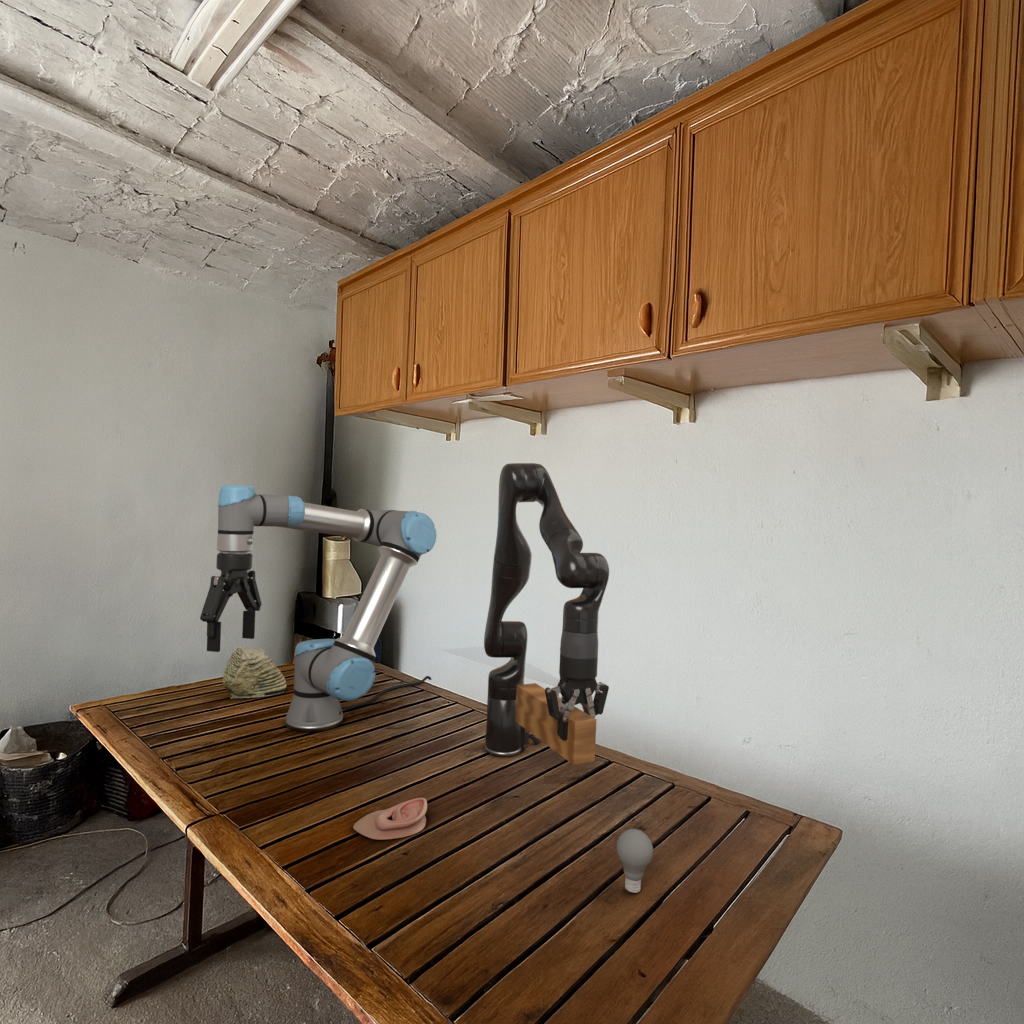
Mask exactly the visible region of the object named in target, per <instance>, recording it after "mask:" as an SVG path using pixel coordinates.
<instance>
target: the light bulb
mask: <svg viewBox="0 0 1024 1024" xmlns="http://www.w3.org/2000/svg"><path fill="white" fill-rule="evenodd" d="M615 849H616V854H617V857H618V859H619V861H620V863H621V865H622V867H623V873H624V874H623V875H624V876H625V878H624V888H625V890H627V891H628V892H630V893H634V894H635V893H639V892H640V891H641V889H642V887H641V886H642V879H643V877H644V875H645V871H646V868H647V867H648V866H649V864H650V863H651V861H652V859H653V855H654V847H653V843H652V841H651V838H649V836H648V835H647V834H646V833H645V832H643V831H642V830H641V829H636V828H629V829H627V830H625V831H623V832H622V833H621V834H620V835H619V837H618V839H617V841H616V847H615Z"/></svg>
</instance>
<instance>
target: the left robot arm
mask: <svg viewBox="0 0 1024 1024" xmlns="http://www.w3.org/2000/svg"><path fill="white" fill-rule="evenodd" d="M217 506H218V507H217V508H218V509H217V512H218V513H217V538H216V551H218V553H217V554H216V563H215V564H216V569H217V570H219V571H220V576H219V575H211V577H210V583H209V584H210V585H209V588H208V592H207V594H206V598H205V601H204V604H203V607H202V610H201V614H200V617H199V620H200V621H202V622H206V652H213V653H220V652H221V637H222V635H221V634H222V621H220V619H221V616H222V614H223V612H224V609H225V608H226V606H227V604H228V602H229V600H230V598H231V597H233V595H234V594H237V596H238V597H239V599H240V601H241V603H242V605H243V607H244V609H245V610H243V611H242V634H241V635H242V636H241V638H242V639H248V640H254V639H255V633H256V632H255V631H256V630H255V628H256V612H260V611H261V607H262V599H261V596H260V592H259V588H258V583H257V580H256V571H255V570H251V569H252V568H253V554H252V553H251V552H252V551H253V549H254V547H253V546H254V545H253V544H254V529H255V528H254V527H274V528H275V527H277V528H284V529H291V530H299V531H305V532H313V533H319V534H326V535H333V536H341V537H348V538H352V540H353V541H354V542H357V543H365V544H368V545H372V546H375V547H378V550H379V553H380V557H379V559H378V561H377V563H376V566H375V568H374V569H373V572H372V574H371V576H370V578H369V581H368V582H367V585H366V587H365V589H364V590H363V593H362V595H361V598H360V600H359V602H358V604H357V606H356V608H355V611H354V612H353V614H352V616H351V619H350V621H349V624H348V626H347V627H346V630H345V632H344V634H343V635H342V636H339V637H338V638H319V639H308V640H303V641H300V642H297V644H296V646H295V650H294V655H293V657H294V672H293V695H292V696H293V697H292V699H291V701H290V704H289V708H288V711H287V713H286V715H285V726H286V728H287V729H289V730H291V731H294V732H295V731H296V732H301V733H316V732H325V731H329V730H332V729H335V728H337V727H339V726H340V725H342V723H343V722H344V714H343V710H351V709H355V708H360V707H362V706H365V705H368V704H371V703H372V702H374V701H376V700H377V699H378V698H379V697H380V696H381V695H383V694H384V693H388V692H390V691H393V690H397V689H400V688H405V687H411V686H417V685H421V684H423V683H424V682H426V680H429V681H432V677H431V676H430V675H426V676H424V678H422V679H421V680H418V681H415V682H409V683H402V684H398V685H394V686H391V687H388V688H385V689H383V690H381V691H379V692H377V694H375V695H374V696H373V697H372V698H370V699H367V700H365V701H363V702H359V703H355V704H351V705H341V702H340V701H344V702H353V701H354V702H355V701H357V700H359V699H360V698H362V697H364V696H366V695H367V693H368V692H369V691H370V690H371V689H372V687H373V686H374V683H375V680H376V671H375V670H376V668H375V666H374V661H375V659H376V657H377V655H376V652H375V649H374V648H375V645H376V643H377V641H378V639H379V636H380V634H381V632H382V630H383V627H384V626H385V623H386V621H387V619H388V617H389V614H390V612H391V610H392V608H393V605H394V603H395V601H396V599H397V597H398V594H399V593H400V589H401V588H402V585H403V583H404V581H405V579H406V576H407V575H408V572H409V570H410V568H411V567H414V566H417V565H418V563H419V560H420V559H421V557H422V555H426V554H427V553H429V552H431V551H432V550H433V548H434V546H435V544H436V541H437V529H436V527H435V522H434V521H433V520H432V518H431V517H430V516H429V515H427V514H426V513H424V512H420V511H416V510H396V509H380V510H379V509H378V510H377V509H365V508H359V509H358V510H350V509H344V508H338V507H333V506H328V505H321V504H316V503H311V502H305V501H303V499H302V498H301V497H300V496H297V495H295V496H294V495H289V494H288V495H283V494H282V495H281V494H280V495H279V494H258V493H256V489H255V487H254V486H253V485H239V484H237V485H236V484H235V485H234V484H224V485H222V486H221V487H220V489H219V494H218V503H217Z"/></svg>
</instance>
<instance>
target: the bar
mask: <svg viewBox="0 0 1024 1024" xmlns="http://www.w3.org/2000/svg"><path fill="white" fill-rule="evenodd" d="M545 689H546V688H545V687H543V686H541V685H539V684H537V683H536V682H533V683H524V684H523V685H517V694H516V717H515V722H517V723H518V724H519V725H521V726H522V727H523V728H525V730H526V731H528V732H529V734H531V735H533V736H535V738H536V739H537V738H538V739H539V740H540V742H541V743H544V744H545V745H546V746H547V747H549V748H550V749H551V750H552V751H554V752H555V753H557V754H558V755H560V756H561V757H562V758H563V759H564V760H566V761H567V762H569V763H570V764H571V765H573V766H576V765H583V764H589V763H594V762H596V743H597V742H596V738H597V718H596V717H595V718H593V717H592V716H590V715H588V714H587V713H585V712H584V711H583V709H582V710H581V709H580V708H578V707H577V706H576V705H574V708H573V711H571V712H570V715H569V718H568V721H567V722H568V739H567V740H564V741H563V740H562V739H561V738H560V737H559V736H558V734H557V725H558V720H556V719H554V718H553V717H551V716H550V715H549V711H548V706H547V700H546V695H545ZM560 699H561V697H560V696H559V698H558V699H557V700H558V706H559V702H560ZM566 704H567V705H568V702H566Z"/></svg>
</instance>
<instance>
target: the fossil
mask: <svg viewBox="0 0 1024 1024" xmlns="http://www.w3.org/2000/svg"><path fill="white" fill-rule="evenodd" d="M222 676H223V677H222V685H223V687H224V688H225V690H226V691H228V693H229V698H230V699H250V698H264V697H271V696H275V695H281V694H284V693H285V691H286V689H287V687H288V686H287V680H286V678H285V676H284V674H283V673H282V672H281V669H279V668H278V667H277V665H276V663H275V662H274V660H273V659H272V658H271V657H270V656H269V655H268V654H267V653H266V652H265V650H264V649H263V648H260V647H258V648H251V647H247V646H246V647H245V646H238V647H237V648H236V649H235V650H233V651H232V653H231V656H230V657H229V659H228V660H227V663H226V666H225V668H224V671H223V675H222Z"/></svg>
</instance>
